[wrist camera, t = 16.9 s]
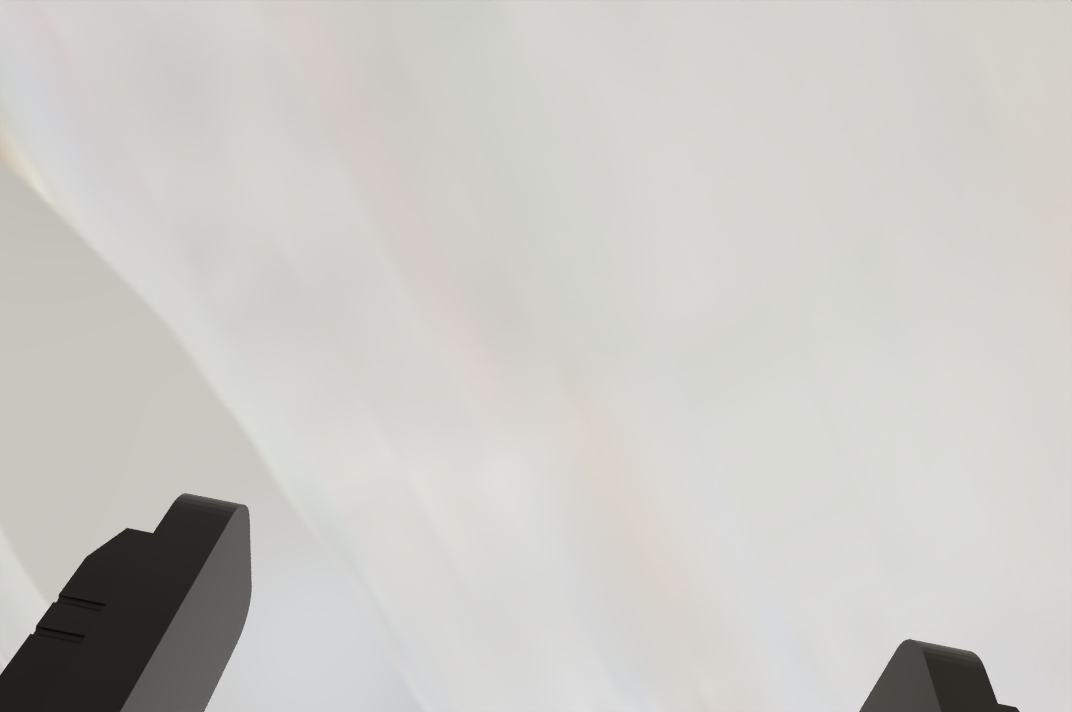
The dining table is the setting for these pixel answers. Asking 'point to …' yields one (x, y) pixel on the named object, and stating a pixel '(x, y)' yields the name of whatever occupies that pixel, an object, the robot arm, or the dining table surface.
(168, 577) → the robot arm
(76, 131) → the dining table surface
